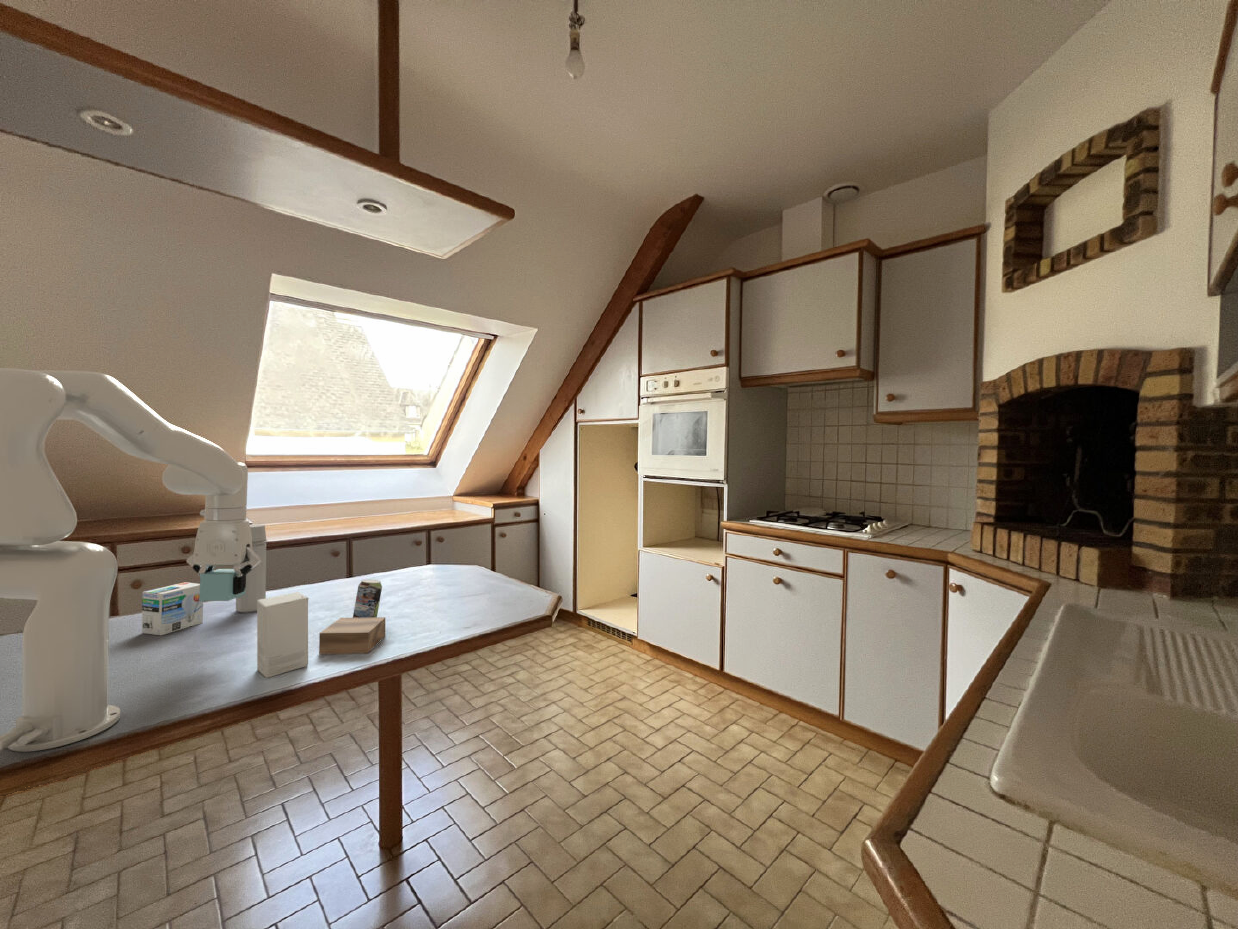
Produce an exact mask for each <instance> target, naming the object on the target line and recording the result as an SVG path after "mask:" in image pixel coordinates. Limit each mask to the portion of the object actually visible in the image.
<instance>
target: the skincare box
mask: <svg viewBox="0 0 1238 929" xmlns="http://www.w3.org/2000/svg"><path fill="white" fill-rule="evenodd" d="M256 621H257V622H256V628H257V629H256V635H257V636H256V638H257V640H256V642H257V643H256V646H257V648H256V649H257V650H256V653H257V654H256V656H257V657H256V661H257V662H256V663H257V664H256V665H257V667H256V668H257V671H259V672H260V674H262V675H263V676H264V677H265V679H269V678H272V677H274V676H279V675H281V674H285V673H288V672H291V671H294V670H298V669H302V668H305V667H308V666H309V597H308V596H306V595H305V594H303V593H300V592H298V591H297V592H293V593H286V594H282V595H277V596H273V597H272V596H271V597H266V599H260V600H257V611H256Z"/></svg>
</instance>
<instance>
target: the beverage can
mask: <svg viewBox="0 0 1238 929" xmlns="http://www.w3.org/2000/svg"><path fill="white" fill-rule="evenodd" d="M382 589H383V585H382V583H381V580H378V579H362V580H361V581H360V583H359V584H358V586H357V592H356V596H355V597H356V598H355V601H354V602H355V603H354V608H353V613H352V615H353V616H352V618H368V617H378V614H379V608H380V602H381V601H380V600H381V596H382Z"/></svg>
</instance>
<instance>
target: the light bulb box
mask: <svg viewBox="0 0 1238 929" xmlns="http://www.w3.org/2000/svg"><path fill="white" fill-rule="evenodd" d="M199 596H200V583H195V582H186V581H184V582H181V583H175V584H171V585H167V586H163V587H158V588H154V589H150V590H145V591H142V600H141V601H142V606H141V634H146V635H147V634H148V635H154V636H164V635H168V634H170V633H175V632H178V631H180V630H184V629H187V628H190V626H191V627H194V626H197V625H200V624H203V620H204V618H203V617H204V601H199Z"/></svg>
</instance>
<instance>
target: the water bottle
mask: <svg viewBox="0 0 1238 929" xmlns="http://www.w3.org/2000/svg"><path fill="white" fill-rule="evenodd" d="M250 529H251V535H252V550H253V551H254V552H255V553H256V554H257V555H258V556H259V557H260V558H261V562H260V563H259V564H258V565H256V566H255V567H254V568H253V569H252V570H251V571H250V572H249V574H247V575H246V591H245V595H242V596H240V597H237V598H235V610H236V611H237V613H242V614H244V613H245V614H246V613H254V612H257V600H260V599H266V598H267V597H266V595H267V594H266V592H267V587H266V586H267V581H266V580H267V542H268V538H267V535H266V534H267V533H266V525H265V524H259V523H258V524H256V523H255V524H250ZM249 563H250V561H248V562H246V565H248V564H249Z"/></svg>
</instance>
